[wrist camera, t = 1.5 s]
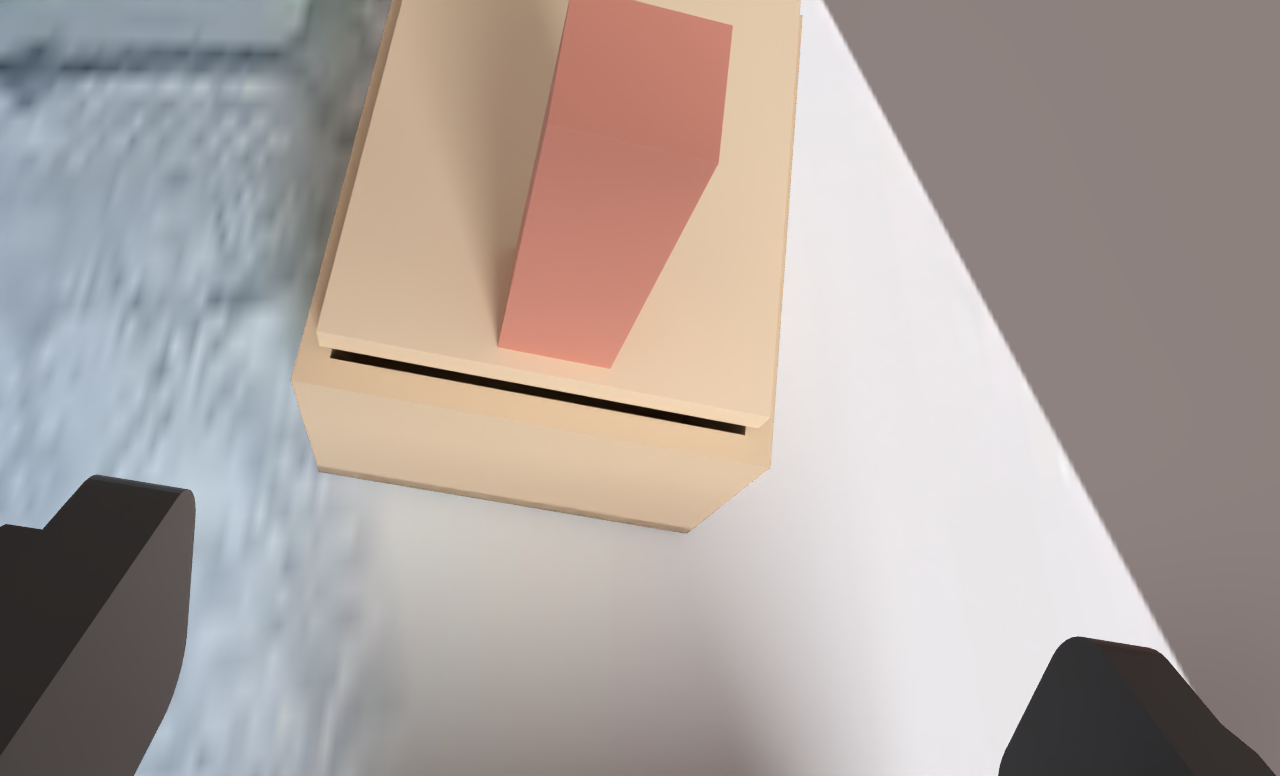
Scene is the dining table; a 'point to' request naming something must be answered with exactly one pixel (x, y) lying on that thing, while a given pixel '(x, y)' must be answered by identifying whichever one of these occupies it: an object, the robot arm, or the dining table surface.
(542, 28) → the flap
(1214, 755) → the robot arm
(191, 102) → the dining table surface
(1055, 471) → the dining table surface
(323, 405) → the carton
